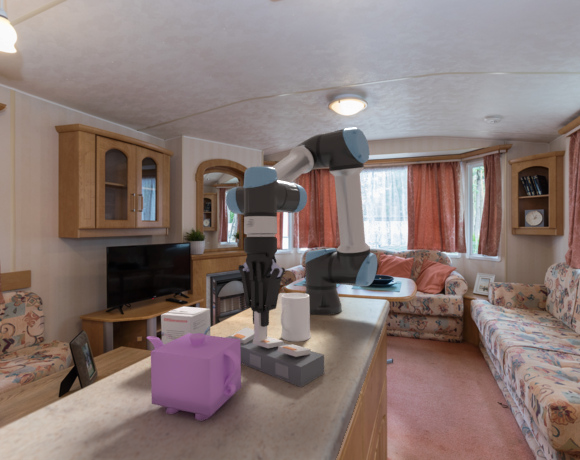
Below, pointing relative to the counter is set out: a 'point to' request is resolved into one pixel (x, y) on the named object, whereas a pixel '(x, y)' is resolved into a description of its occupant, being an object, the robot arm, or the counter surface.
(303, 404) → the counter surface
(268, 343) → the rocker
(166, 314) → the ink box
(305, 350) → the rocker
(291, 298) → the mug
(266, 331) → the robot arm
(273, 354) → the power strip
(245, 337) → the rocker
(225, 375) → the teapot
